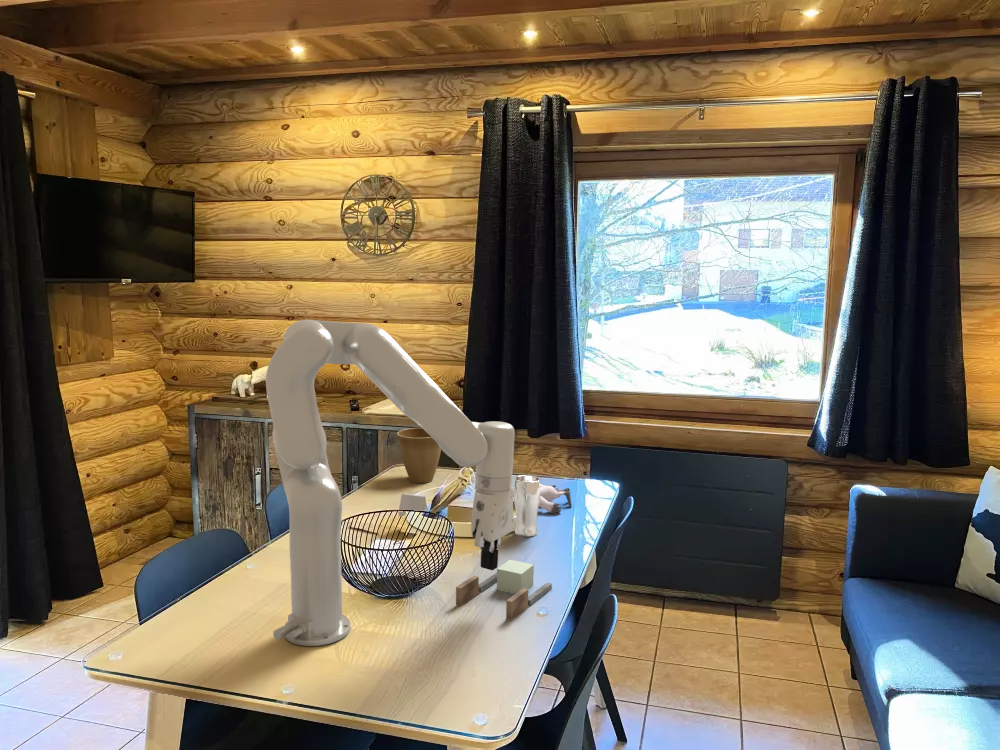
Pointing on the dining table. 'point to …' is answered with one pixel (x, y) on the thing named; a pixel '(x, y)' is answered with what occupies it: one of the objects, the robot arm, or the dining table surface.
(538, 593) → the rails
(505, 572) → the sage block
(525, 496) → the beer glass
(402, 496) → the light grey tapered block
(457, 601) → the walnut channel
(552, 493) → the yeti figurine
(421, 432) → the plant pot
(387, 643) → the dining table surface
